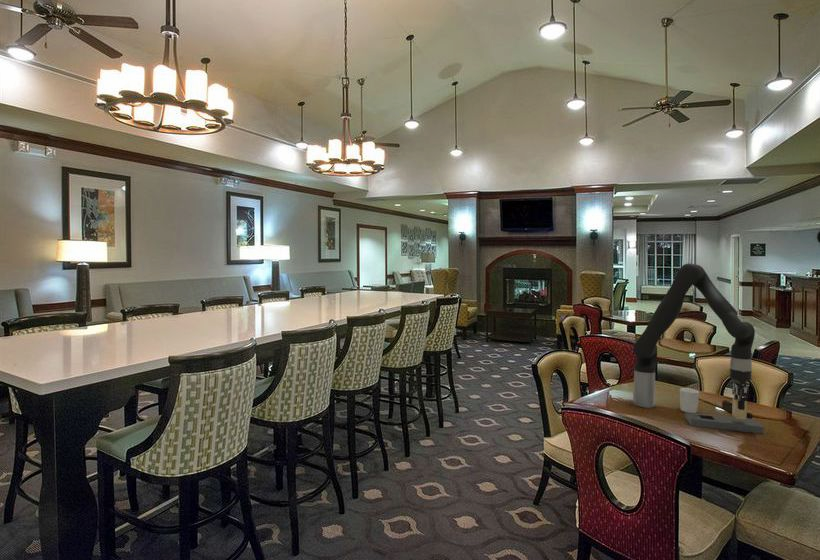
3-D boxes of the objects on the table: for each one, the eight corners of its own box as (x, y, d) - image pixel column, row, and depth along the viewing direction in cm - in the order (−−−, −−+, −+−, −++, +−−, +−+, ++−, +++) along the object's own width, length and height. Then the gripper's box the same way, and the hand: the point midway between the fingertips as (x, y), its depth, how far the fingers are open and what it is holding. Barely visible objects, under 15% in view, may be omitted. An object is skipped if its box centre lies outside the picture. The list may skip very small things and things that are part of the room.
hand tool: (753, 422, 200) (753, 411, 200) (743, 421, 200) (743, 411, 200) (728, 408, 219) (729, 399, 219) (719, 408, 219) (720, 399, 219)
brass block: (735, 418, 191) (735, 399, 191) (732, 415, 195) (732, 397, 194) (746, 419, 190) (747, 400, 189) (743, 416, 193) (743, 398, 193)
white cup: (700, 410, 215) (700, 390, 214) (696, 414, 209) (697, 393, 208) (681, 407, 220) (681, 387, 220) (677, 410, 214) (677, 390, 214)
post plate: (690, 425, 194) (691, 419, 194) (685, 418, 204) (685, 411, 203) (763, 433, 185) (763, 426, 185) (754, 425, 195) (754, 419, 194)
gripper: (725, 364, 199) (723, 402, 200) (735, 371, 186) (734, 411, 187) (745, 365, 197) (743, 404, 197) (757, 372, 183) (756, 414, 184)
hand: (739, 407), depth 192 cm, fingers closed on brass block, 4 cm apart
